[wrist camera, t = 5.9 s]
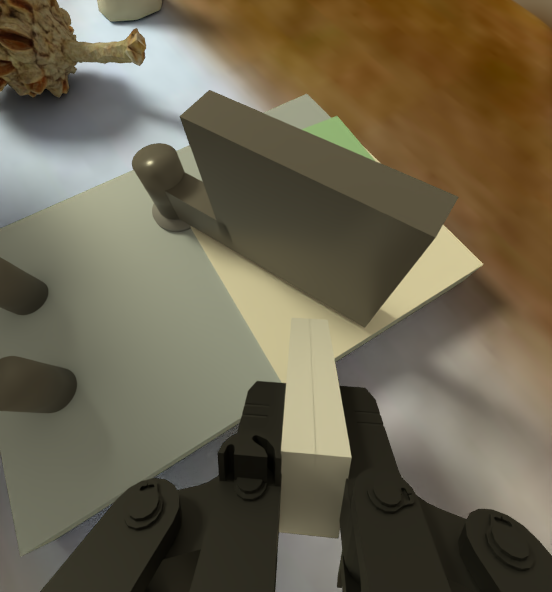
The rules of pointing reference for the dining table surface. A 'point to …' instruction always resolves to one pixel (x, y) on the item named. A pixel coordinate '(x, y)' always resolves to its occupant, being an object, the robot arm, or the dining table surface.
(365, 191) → the gate
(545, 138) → the dining table surface
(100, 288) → the board
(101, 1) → the flask
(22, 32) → the pine cone
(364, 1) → the dining table surface
